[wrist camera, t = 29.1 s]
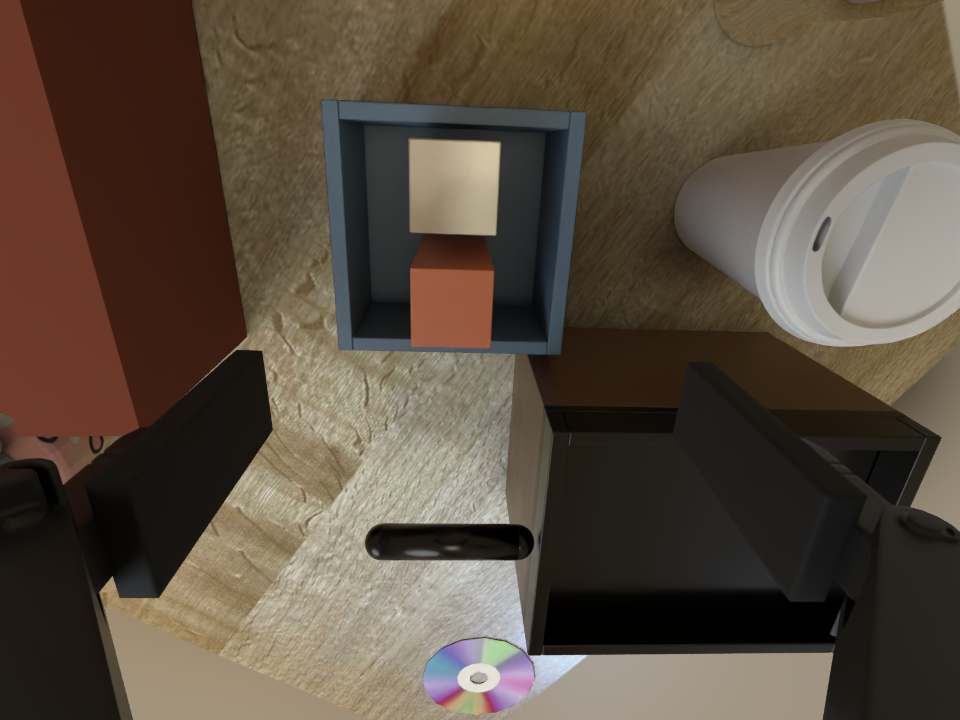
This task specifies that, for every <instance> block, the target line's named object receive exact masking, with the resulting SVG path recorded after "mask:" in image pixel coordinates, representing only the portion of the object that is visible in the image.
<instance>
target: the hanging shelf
mask: <svg viewBox="0 0 960 720" xmlns="http://www.w3.org/2000/svg"><path fill="white" fill-rule="evenodd" d="M246 337H247V335H246V329H245V323H244V317H243V311H242V305H241V299H240V293H239V287H238V281H237V275H236V269H235V263H234V258H233V252H232V246H231V240H230V234H229V228H228V222H227V216H226V210H225V204H224V198H223V192H222V186H221V181H220V175H219V169H218V163H217V157H216V151H215V145H214V139H213V133H212V127H211V121H210V115H209V109H208V104H207V98H206V92H205V86H204V80H203V74H202V68H201V62H200V56H199V50H198V44H197V38H196V32H195V27H194V21H193V15H192V9H191V3H190V0H0V413H2V414H4V415H7V416H9V417H11V418H12V419H14V421H15V424H16V426H17V428H18V431H19V433H20V436H21V437H51V436H124V435H126V434H128V433H130V432H132V431H134V430H136V429H138V428H140V427H150V426H151V425H152V424H153V423H154V422H155V421H157V420H158V419H159V418H160V417H161V416H162V415H163V414H165V413H166V412H167V411H168V410H169V409H170V408H171V407H172V406H174V405H175V404H176V403H177V402H178V401H179V400H180V399H181V398H182V397H183V396H184V395H185V394H186V393H188V392H189V391H190V390H191V389H192V388H193V387H194V386H195V385H196V384H197V383H198V382H199V381H200V380H201V379H202V378H204V377H205V376H206V375H207V374H208V373H209V372H210V371H211V370H212V369H213V368H214V367H215V366H216V365H217V364H218V363H220V362H221V361H222V360H223V359H224V358H225V357H226V356H227V355H228V354H229V353H230V352H231V351H232V350H233V349H234V348H236V347H237V346H238V345H239V344H240V343H241V342H242V341H243V340H244V339H245V338H246Z"/></svg>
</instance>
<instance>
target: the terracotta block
mask: <svg viewBox="0 0 960 720" xmlns="http://www.w3.org/2000/svg"><path fill="white" fill-rule="evenodd" d="M494 274H495V271H494V268H493V264H492V261H491V258H490V254H489V251H488V247H487V244H486V240H485V237H484V236H464V235H435V234H424V235H423V237H422V240H421V242H420V245H419V247H418V250H417V252H416V255H415V258H414V260H413V263H412V265H411V268H410V304H411V346H412V347H453V348H490V347H491V331H492V312H493V293H494Z"/></svg>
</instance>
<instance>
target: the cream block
mask: <svg viewBox="0 0 960 720" xmlns="http://www.w3.org/2000/svg"><path fill="white" fill-rule="evenodd" d="M408 150H409V227H410V232H411V233H434V234H463V235H492V236H495V235H496V234H497V215H498V196H499V176H500V157H501V142H497V141H474V140H452V139H429V138H409V139H408Z"/></svg>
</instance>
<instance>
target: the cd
mask: <svg viewBox="0 0 960 720" xmlns="http://www.w3.org/2000/svg"><path fill="white" fill-rule="evenodd" d="M476 672H483V673H485V674H486V675H487V676H488V679H487V680H486V681H485V682H483V683H479V684H478V683H474V682H472V681H471V680H470V676H471V675H472V674H473V673H476ZM423 681H424V686H425V690H426V692H427V693H428V694H429V695H430V697H431V698H432V699H433V700H434V701H435V702H436V703H437V704H439V705H441V706H443V707H445V708H447V709H449V710H451V711H454V712H459V713H466V714H473V715H477V714H485V713H494V712H498V711H500V710H503V709H505V708H508V707H510V706H513V705H515V704H516V703H517V702H518V701H519V700H520V699H522V698H523V697H524V696H525V695H526V694H528V692H529V690H530V688H531V685H532V683H533V681H534V671H533V664H532V662H531V661H530V660H529V658H528V657H527V656H526V654H525V653H524V652H523V651H522V650H520V649H519V648H517V647H515V646H513V645H511V644H509V643H507V642H506V641H500V640H494V639H488V638H477V639H468V640H461V641H458V642H456V643H454V644H451V645H449V646H447V647H444V648H442V649H440V650H439V651H438V652H437V653H436V654H435V655H434V656H433V657H432V658H431V659H430V660H429V661H428V662H427V665H426V668H425V671H424V674H423Z"/></svg>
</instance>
